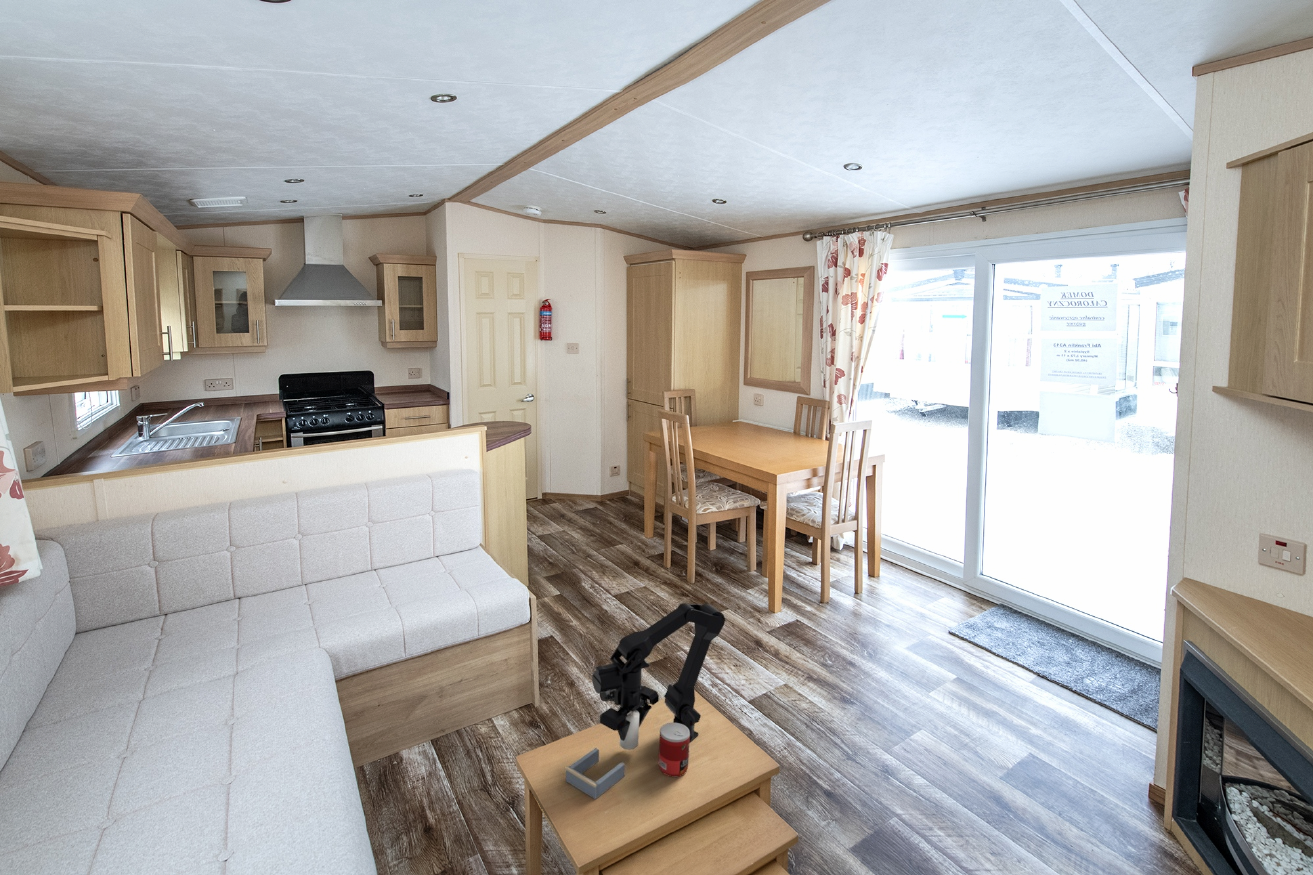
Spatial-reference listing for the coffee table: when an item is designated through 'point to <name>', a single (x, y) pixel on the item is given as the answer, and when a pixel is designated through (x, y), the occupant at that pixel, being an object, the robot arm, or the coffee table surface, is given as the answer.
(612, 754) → the coffee table surface
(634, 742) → the roll
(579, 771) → the bracket
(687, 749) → the canned food
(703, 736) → the coffee table surface
